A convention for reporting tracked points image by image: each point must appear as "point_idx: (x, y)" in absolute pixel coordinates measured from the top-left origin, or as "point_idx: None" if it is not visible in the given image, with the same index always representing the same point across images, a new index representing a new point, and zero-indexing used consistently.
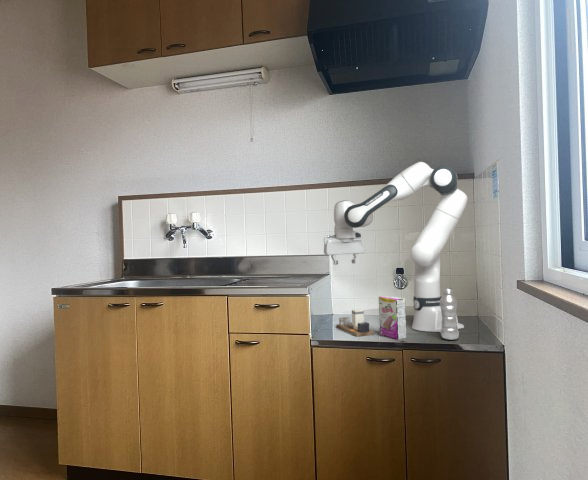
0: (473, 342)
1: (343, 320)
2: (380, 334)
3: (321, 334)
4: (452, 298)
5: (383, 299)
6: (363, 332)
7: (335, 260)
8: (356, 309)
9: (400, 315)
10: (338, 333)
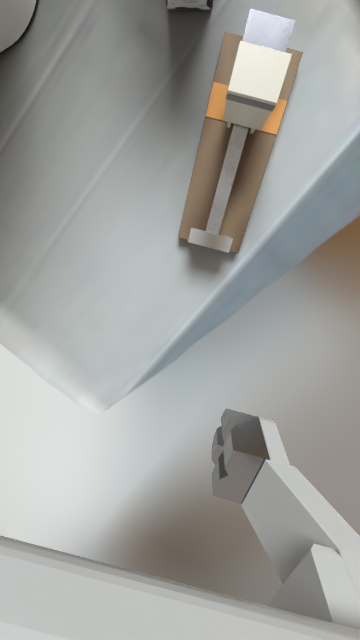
0: None
1: (220, 235)
2: (212, 3)
3: (349, 203)
4: None
5: None
6: None
7: (285, 469)
8: (251, 92)
9: None
10: (297, 171)
